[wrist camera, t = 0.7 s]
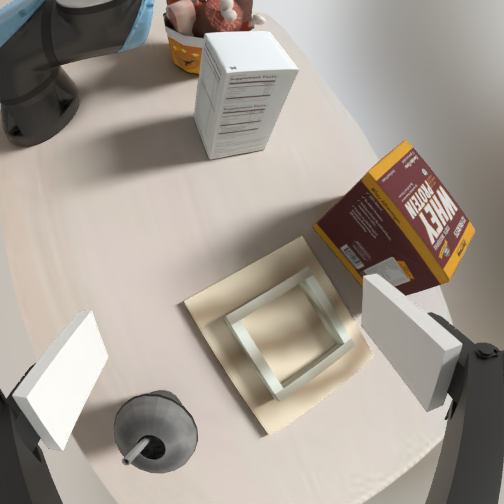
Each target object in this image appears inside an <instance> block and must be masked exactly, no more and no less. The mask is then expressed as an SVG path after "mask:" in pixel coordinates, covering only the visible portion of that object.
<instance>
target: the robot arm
mask: <svg viewBox="0 0 504 504" xmlns="http://www.w3.org/2000/svg"><path fill="white" fill-rule="evenodd" d="M153 5H154V0H14V1H12V2H10V3H9V4H7V5H6V6H4V7H3V8H2V9H0V103H1V113H2V121H3V128H4V131H5V133H6V135H7V136H8V138H9V140H10V141H11V142H12V143H14V144H15V145H18V146H31V145H35V144H38V143H41V142H43V141H45V140H47V139H49V138H51V137H52V136H54V135H55V134H57V133H58V132H59V131H60V130H62V129H63V128H64V127H65V126H66V125H67V124H68V123H69V122H70V120H71V119H72V118H73V116H74V115H75V113H76V111H77V109H78V106H79V100H80V99H79V93H78V90H77V87H76V85H75V83H74V82H73V80H72V79H71V78H70V77H69V76H68V75H67V73H66V72H65V71H64V70H63V69H62V67H61V66H60V65H64V64H67V63H71V62H75V61H79V60H84V59H88V58H93V57H98V56H103V55H108V54H113V53H115V54H116V53H120V52H122V51H125V50H130V49H134V48H138V47H140V46H141V45H142V44H144V42H145V41H146V39H147V37H148V34H149V30H150V26H151V21H152V14H153ZM361 326H362V328H363V329H364V330H365V331H366V333H367V334H368V335H369V337H370V338H371V339H372V340H373V342H374V343H375V344H376V345H377V347H378V348H379V349H380V351H381V352H382V353H383V355H384V356H385V357H386V358H387V360H388V361H389V362H390V364H391V365H392V366H393V368H394V369H395V370H396V372H397V373H398V374H399V375H400V377H401V378H402V379H403V381H404V382H405V383H406V385H407V386H408V387H409V389H410V390H411V391H412V393H413V394H414V396H415V397H416V398H417V400H418V401H419V402H420V404H421V405H422V406H423V408H424V409H425V411H426V412H428V411H431V410H433V409H435V408H437V407H440V406H442V405H443V404H444V401H445V399H446V396H447V393H448V394H449V395H450V396H451V397H452V399H453V400H452V403H451V405H450V408H449V410H448V412H447V415H446V417H445V420H447V419H448V421H447V426H446V431H445V436H444V440H443V445H442V449H441V453H440V457H439V461H438V465H437V468H436V472H435V475H434V479H433V482H432V485H431V488H430V491H429V494H428V497H427V500H426V503H425V504H498V499H499V493H500V487H501V479H502V471H503V460H504V351H500V350H499V349H498V348H497V347H495V346H493V345H492V344H488V343H477V344H474V343H473V342H472V341H470V340H469V339H468V338H467V337H466V336H464V335H463V334H462V333H461V332H460V331H458V330H457V329H455V327H454V326H452V325H451V324H449V322H448V321H446V320H445V319H444V318H443V317H441V316H439V315H436V314H434V313H432V312H431V313H426V312H425V311H423V310H422V309H421V308H420V307H418V306H417V305H416V304H415V303H414V302H412V301H411V300H410V299H409V298H407V297H406V296H405V295H404V294H402V293H401V292H400V291H399V290H397V289H396V288H395V287H394V286H392V285H391V284H390V283H389V282H387V281H386V280H385V279H384V278H382V277H381V276H380V275H378V274H371V275H366V276H363V298H362V319H361ZM107 359H108V354H107V352H106V349H105V347H104V344H103V341H102V338H101V336H100V333H99V330H98V327H97V324H96V321H95V319H94V316H93V313H92V310H90V311H79V312H78V313H77V315H76V316H75V317H74V318H73V319H72V320H71V321H70V323H69V324H68V325H67V326H66V327H65V328H64V330H63V331H62V332H61V333H60V334H59V336H58V337H57V338H56V339H55V340H54V342H53V343H52V344H51V345H50V347H49V348H48V349H47V350H46V351H45V353H44V354H43V355H42V356H41V358H40V359H39V360H38V361H37V362H36V363H35V364H34V365H32V366H31V367H30V368H29V369H28V371H27V372H26V373H25V376H23V377H22V378H21V380H20V382H18V384H17V385H16V387H15V388H14V389H13V390H12V392H11V393H10V394H9V396H8V397H7V399H6V398H5V396H4V394H3V393H2V391H1V389H0V504H63V503H62V501H61V498H60V496H59V494H58V491H57V489H56V487H55V485H54V482H53V479H52V477H51V474H50V472H49V469H48V466H47V464H46V461H45V459H44V455H43V452H42V450H41V448H40V447H39V446H38V442H39V440H40V438H41V440H42V441H43V442H44V444H45V445H46V446H47V447H48V448H49V449H54V450H58V451H63V450H64V448H65V446H66V443H67V441H68V439H69V436H70V434H71V432H72V430H73V428H74V426H75V423H76V421H77V419H78V417H79V415H80V413H81V411H82V409H83V406H84V404H85V402H86V400H87V398H88V396H89V394H90V392H91V390H92V388H93V386H94V384H95V382H96V380H97V378H98V376H99V374H100V372H101V370H102V369H103V367H104V365H105V363H106V361H107Z"/></svg>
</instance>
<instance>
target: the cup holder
mask: <svg viewBox="0 0 504 504" xmlns="http://www.w3.org/2000/svg"><path fill="white" fill-rule="evenodd" d="M184 304H185V305H186V307H187V309H188V311H189V312H190V314H191V316H192V318H193V319H194V321H195V323H196V324H197V326H198V328H199V329H200V331H201V333H202V334H203V336H204V338H205V339H206V341H207V343H208V344H209V346H210V348H211V349H212V351H213V353H214V354H215V356H216V357H217V359H218V361H219V362H220V364H221V365H222V367H223V369H224V370H225V372H226V373H227V375H228V376H229V378H230V379H231V381H232V382H233V384H234V386H235V387H236V389H237V390H238V392H239V393H240V395H241V396H242V398H243V399H244V401H245V402H246V404H247V405H248V406H249V408H250V409H251V411H252V412H253V414H254V415H255V417H256V418H257V419H258V421H259V422H260V424H261V425H262V427H263V428H264V429H265V431H266V432H267V434H268V435H269V436H272V435H273V434H275V433H276V432H278V431H279V430H281V429H282V428H284V427H285V426H287V425H288V424H290V423H291V422H293V421H294V420H296V419H297V418H298V417H300V416H301V415H303V414H304V413H305V412H307V411H308V410H309V409H311V408H312V407H313V406H315V405H316V404H317V403H319V402H320V401H321V400H323V399H324V398H325V397H327V396H328V395H329V394H330V393H332V392H333V391H334V390H335V389H337V388H338V387H339V386H340V385H342V384H343V383H344V382H345V381H347V380H348V379H349V378H350V377H351V376H353V375H354V374H355V373H356V372H357V371H358V370H360V369H361V368H362V367H363V366H364V365H365V364H366V363H368V362H369V361H370V360H371V359H372V358H373V357H374V355H373V353H372V351H371V349H370V348H369V346H368V344H367V342H366V341H365V339H364V337H363V335H362V334H361V332H360V330H359V328H358V327H357V325H356V323H355V322H354V320H353V318H352V316H351V315H350V313H349V311H348V310H347V308H346V306H345V305H344V303H343V301H342V300H341V298H340V296H339V295H338V293H337V291H336V290H335V288H334V286H333V285H332V283H331V281H330V280H329V278H328V276H327V275H326V273H325V272H324V270H323V268H322V267H321V265H320V263H319V262H318V260H317V259H316V257H315V255H314V254H313V252H312V251H311V249H310V247H309V246H308V244H307V243H306V241H305V240H304V238H303V236H300V237H299V238H297V239H295V240H293V241H291V242H290V243H288V244H286V245H284V246H282V247H281V248H279V249H277V250H275V251H274V252H272V253H270V254H268V255H266V256H265V257H263V258H261V259H259V260H257V261H256V262H254V263H252V264H250V265H248V266H247V267H245V268H243V269H241V270H239V271H238V272H236V273H234V274H232V275H230V276H229V277H227V278H225V279H223V280H221V281H219V282H218V283H216V284H214V285H212V286H210V287H209V288H207V289H205V290H203V291H201V292H199V293H198V294H196V295H194V296H192V297H190V298H189V299H187V300H185V301H184Z"/></svg>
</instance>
